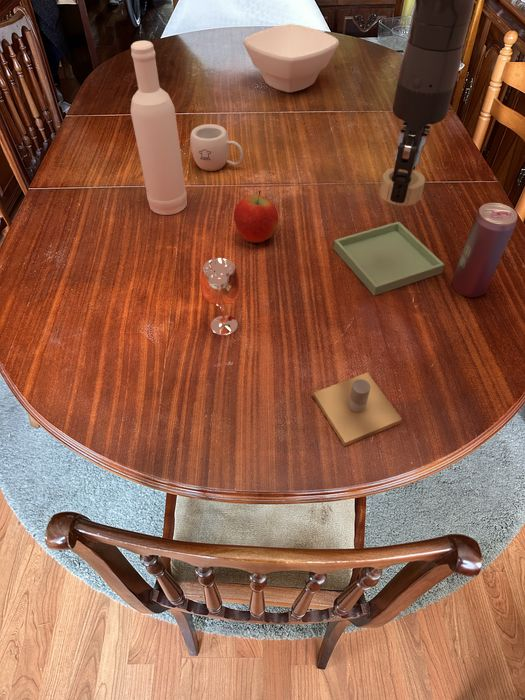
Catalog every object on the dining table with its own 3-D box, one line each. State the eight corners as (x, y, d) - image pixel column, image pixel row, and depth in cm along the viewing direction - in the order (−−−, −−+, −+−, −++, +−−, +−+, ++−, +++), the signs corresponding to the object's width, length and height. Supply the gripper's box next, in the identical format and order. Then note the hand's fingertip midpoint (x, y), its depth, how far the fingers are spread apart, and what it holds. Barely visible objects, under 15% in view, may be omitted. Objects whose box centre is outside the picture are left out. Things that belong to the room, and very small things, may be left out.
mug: (187, 171, 113) (182, 137, 108) (201, 153, 119) (197, 120, 113) (237, 179, 111) (236, 145, 105) (249, 161, 116) (249, 127, 110)
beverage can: (490, 299, 86) (524, 224, 75) (455, 298, 86) (483, 224, 75) (481, 275, 90) (511, 201, 79) (447, 275, 90) (473, 201, 79)
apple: (229, 231, 99) (226, 185, 91) (267, 222, 101) (267, 176, 93) (243, 255, 94) (241, 209, 86) (283, 245, 96) (285, 199, 88)
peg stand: (366, 376, 75) (372, 352, 71) (401, 423, 70) (409, 400, 66) (312, 396, 73) (315, 372, 69) (344, 446, 68) (349, 424, 63)
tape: (405, 180, 84) (409, 163, 82) (428, 200, 80) (433, 182, 78) (372, 189, 82) (375, 172, 80) (394, 209, 79) (398, 192, 76)
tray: (396, 229, 99) (398, 221, 97) (441, 273, 90) (444, 264, 89) (333, 248, 95) (334, 240, 94) (373, 295, 87) (375, 287, 85)
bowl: (234, 84, 144) (232, 39, 135) (289, 64, 154) (291, 20, 145) (289, 110, 133) (291, 62, 125) (345, 86, 143) (350, 40, 134)
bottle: (149, 217, 102) (116, 54, 79) (148, 196, 107) (117, 37, 84) (189, 213, 103) (167, 51, 80) (186, 192, 108) (165, 34, 85)
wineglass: (221, 344, 80) (215, 287, 71) (199, 324, 83) (190, 266, 73) (249, 326, 82) (246, 269, 73) (226, 307, 85) (222, 250, 76)
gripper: (448, 105, 63) (417, 219, 75) (461, 63, 72) (432, 171, 84) (388, 96, 65) (368, 209, 77) (408, 56, 73) (387, 163, 86)
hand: (401, 189), depth 81 cm, fingers closed on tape, 6 cm apart
